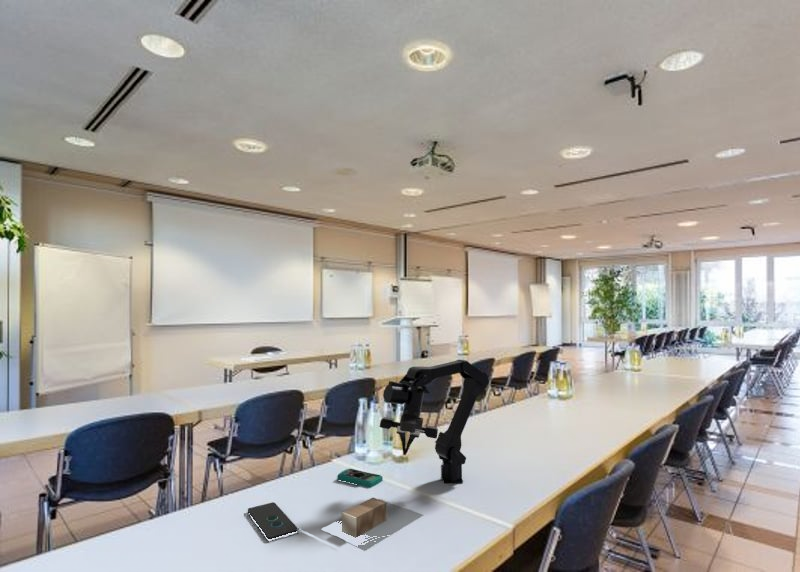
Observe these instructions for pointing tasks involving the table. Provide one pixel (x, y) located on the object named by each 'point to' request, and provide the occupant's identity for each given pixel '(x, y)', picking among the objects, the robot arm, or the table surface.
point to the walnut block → (363, 517)
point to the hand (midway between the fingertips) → (404, 454)
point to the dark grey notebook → (272, 520)
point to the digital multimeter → (360, 477)
